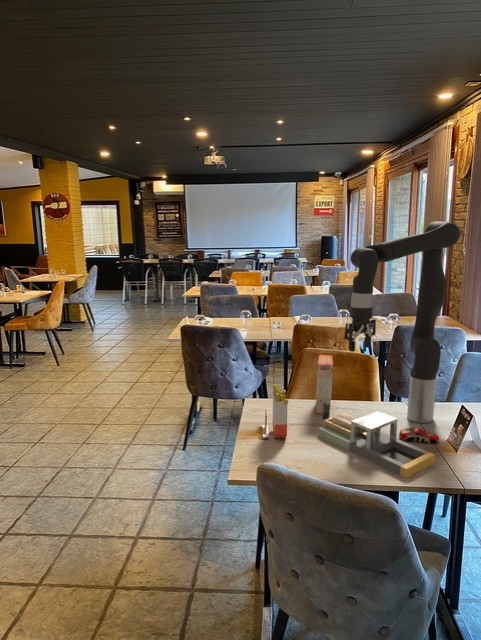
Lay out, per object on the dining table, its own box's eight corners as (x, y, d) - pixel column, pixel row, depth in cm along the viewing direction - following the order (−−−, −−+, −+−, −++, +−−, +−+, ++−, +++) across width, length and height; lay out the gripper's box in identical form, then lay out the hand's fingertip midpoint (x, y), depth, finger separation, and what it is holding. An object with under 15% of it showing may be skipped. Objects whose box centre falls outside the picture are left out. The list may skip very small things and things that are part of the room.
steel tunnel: (376, 431, 169) (377, 411, 167) (396, 439, 162) (397, 418, 161) (350, 441, 160) (351, 420, 159) (369, 450, 154) (371, 429, 153)
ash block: (343, 422, 176) (343, 412, 175) (365, 432, 168) (365, 421, 167) (332, 427, 172) (332, 416, 171) (354, 436, 164) (354, 426, 163)
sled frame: (332, 414, 182) (333, 399, 181) (381, 435, 165) (383, 419, 163) (314, 421, 176) (314, 405, 175) (363, 443, 159) (364, 426, 157)
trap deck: (346, 425, 181) (346, 417, 180) (434, 463, 152) (434, 454, 152) (318, 435, 172) (318, 428, 171) (405, 478, 144) (406, 469, 143)
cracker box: (330, 415, 190) (332, 364, 186) (315, 414, 191) (316, 363, 187) (331, 402, 203) (333, 355, 199) (316, 401, 204) (318, 354, 200)
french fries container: (284, 428, 178) (285, 382, 174) (287, 441, 167) (289, 392, 164) (272, 428, 178) (273, 382, 174) (274, 441, 167) (275, 392, 164)
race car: (437, 438, 170) (438, 428, 170) (440, 445, 165) (441, 435, 164) (398, 435, 173) (399, 424, 172) (400, 441, 168) (400, 431, 167)
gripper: (366, 301, 177) (363, 344, 180) (340, 305, 168) (338, 350, 172) (383, 304, 171) (380, 348, 174) (357, 308, 163) (354, 354, 166)
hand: (359, 349), depth 173 cm, fingers open, 8 cm apart
